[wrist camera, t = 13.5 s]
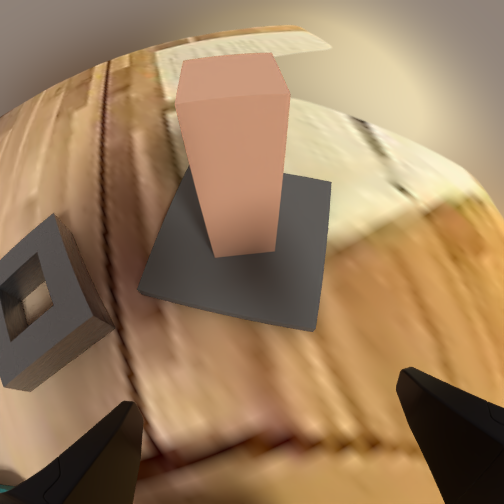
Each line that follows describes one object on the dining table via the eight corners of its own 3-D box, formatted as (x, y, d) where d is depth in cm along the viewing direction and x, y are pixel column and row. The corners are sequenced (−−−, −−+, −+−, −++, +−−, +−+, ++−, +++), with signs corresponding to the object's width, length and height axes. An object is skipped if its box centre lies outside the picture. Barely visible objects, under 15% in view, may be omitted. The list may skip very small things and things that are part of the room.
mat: (312, 331, 19) (315, 328, 19) (141, 294, 21) (136, 289, 20) (329, 189, 25) (331, 182, 24) (192, 168, 27) (191, 161, 26)
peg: (274, 251, 21) (290, 93, 10) (215, 257, 21) (174, 104, 10) (266, 203, 23) (271, 52, 12) (212, 209, 23) (183, 60, 12)
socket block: (115, 328, 20) (93, 315, 16) (30, 391, 17) (3, 387, 13) (72, 233, 24) (53, 212, 21) (1, 294, 21) (-21, 281, 17)
